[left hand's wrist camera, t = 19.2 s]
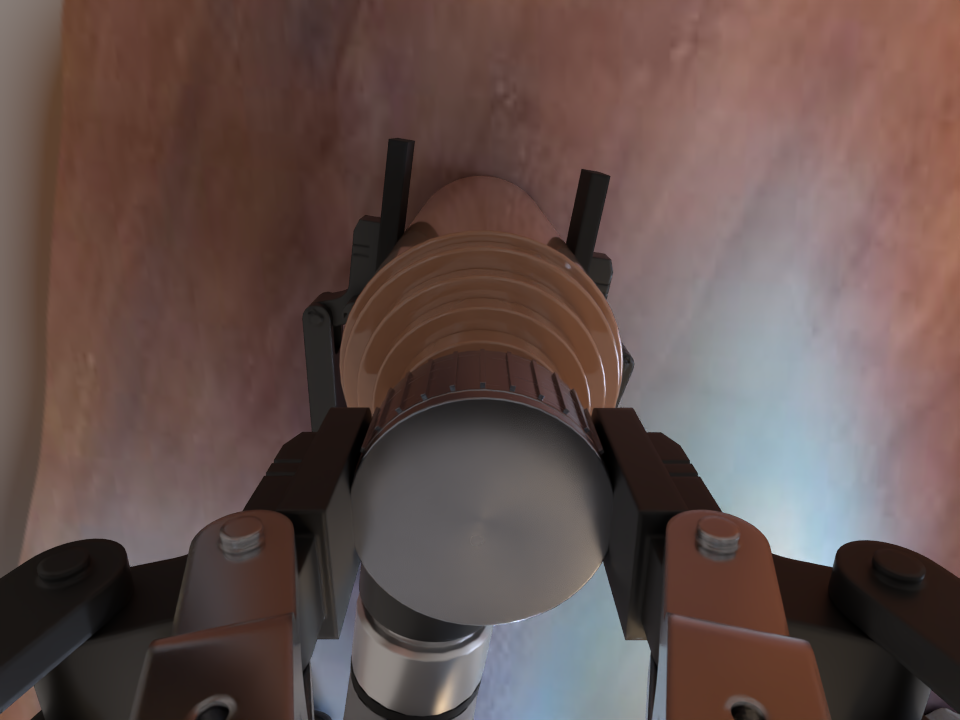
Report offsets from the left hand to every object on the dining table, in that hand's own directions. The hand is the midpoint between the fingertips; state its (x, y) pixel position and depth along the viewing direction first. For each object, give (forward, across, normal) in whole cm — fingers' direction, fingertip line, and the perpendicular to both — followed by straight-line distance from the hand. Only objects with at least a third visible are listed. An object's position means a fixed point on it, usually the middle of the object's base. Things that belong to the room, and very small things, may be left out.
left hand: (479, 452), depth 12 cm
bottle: (+23, 0, 0) cm, 23 cm away
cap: (-2, 0, 0) cm, 2 cm away
